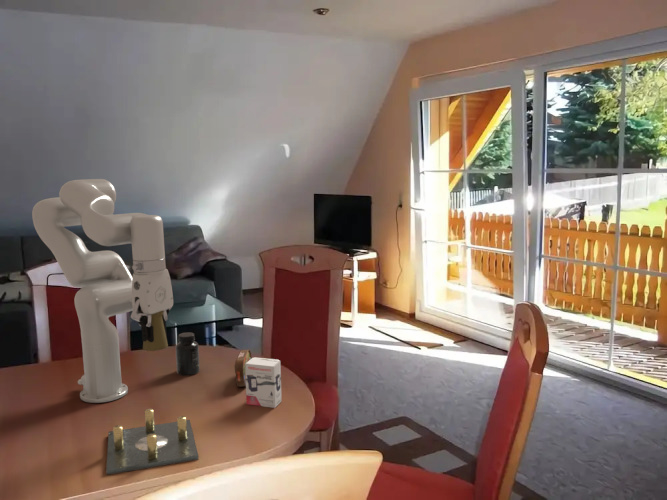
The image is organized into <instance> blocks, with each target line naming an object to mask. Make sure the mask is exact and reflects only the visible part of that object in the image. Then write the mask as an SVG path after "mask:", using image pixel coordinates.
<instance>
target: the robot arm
mask: <svg viewBox="0 0 667 500" xmlns="http://www.w3.org/2000/svg"><path fill="white" fill-rule="evenodd" d="M58 194H59V196H57V197H50V198H45V199H42V200H39V201H38V202H37V203H35V204H34V206H33V208H32V211H31V212H32V214H31V215H32V216H31V217H32V222H33V227H34V228H35V231H36V233H37V235H38V236H39V238H40V240H41V241H42V242H43V243H44V244H45V246H46V247H47V248H48V249H49V250H50V251H51V253H52V254H53V256H54V257H55V261H56V263H58V265H59V267H60V269H61V272H63V275H64V276H65V278H66V280H67V282H68V283H69V284H70V285H71V286H72V287H74V288H77V289H79V288H80V289H79V290H78V291H77V292H76V293H75V294H74V295H75V296H74V307H75V311H76V314H77V317H78V318H77V319H78V322H79V323H78V324H79V328H80V337H81V347H82V348H81V349H82V363H83V372H84V374H83V375H82V376H81V377H80V379H78V380H77V384H78V385H82V387H83V388H82V390H81V391H80V392H79V398H80V400H81V401H83V402H85V403H90V404H99V403H107V402H112V401H115V400H119V399H121V398H123V397H124V396H126V395H127V394H128V392H129V388H128V386H127V384H125V383H122V381H123V380H122V368H121V356H120V339H119V332H118V329H117V327H116V326H115V324H113V323H112V322H111V320H110V319H109V318H111V317H114V316H117V315H121V314H125V313H129V312H131V314H130V318H131V319H132V320H133V321H136V322H137V324H138V325H139V327H140V328H141V339H142V342H143V341H145V342H146V340H148V341H149V342H153V341H154V336H153V326H151V315H152V314H156V313H158V312H160V311H164V313H163V315H162V319H163V324H164V329H165V333H166V337H167V336H168V334H167V332H168V331H167V321H168V319H169V318H168V315H169V313H170V311H171V309H172V308H173V307H174V295H173V287H172V286H173V285H172V281H171V276H170V272H169V270H168V269H167V266H166V253H165V238H164V237H165V236H164V221H163V219H162V217H161V216H159V215H158V214H146V213H144V212H143V213H142V212H130V213H118V214H117V213H116V214H114V212H115V203H116V200H117V191H116V188H115V186H114V185H113V184H112V183H111V182H110V181H109V180H107V179H105V178H92V179H91V178H90V179H88V178H86V179H74V180H69V181H67V182H65V183H64V184H63V185H62V186H60V190H59V193H58ZM73 226H74V227H75V226H81V227H82V230H83V232H84V233H85V235H86V236H87V238H89V240H92V241H93V242H95V243H96V244H98V245H100V246H104V247H112V246H113V247H115V246H121V245H128V244H131V251H132V252H131V253H132V254H131V255H132V267H131V268H132V270H133V273H132V274H131V272H130V270H129V268H128V267H127V265H126V264H125V261H124V260H123V258H122V257H121V256H120V255H119V254H118V253H116V252H115V251H114V250H113V251H112V250H98V251H91V250H89V249H88V248H87V247H86V244H85V243H84V241H83V239H82V238H81V237H79V236H78V235H77V234H76V233H74V232H73V231H70V230H69V229H68V228H65V227H73ZM144 316H146V319H145V318H144Z"/></svg>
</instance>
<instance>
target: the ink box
mask: <svg viewBox="0 0 667 500" xmlns="http://www.w3.org/2000/svg"><path fill="white" fill-rule="evenodd" d="M281 364H282V363H281V360H279V359H277V358H276V359H275V358H264V357H256V356H255V357H252V359H250V360H249V361H248V362H247V363H246V386H245V391H246V392H245V395H246V399H245V400H246V405H249V406H256V407H257V406H258V407H263V408H264V407H265V408H273V409H276V408H277V406H278V405H279V404H280V403H282V372H281V371H282V370H281V369H282V368H281Z"/></svg>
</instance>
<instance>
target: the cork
mask: <svg viewBox="0 0 667 500" xmlns="http://www.w3.org/2000/svg"><path fill="white" fill-rule="evenodd" d="M163 313H164V311H160V312H158V313H156V314H152V315H151V326H153V336H154V341H153V342H149V341H148V340H146V342H145V341H142V342H143V343H142V350H144V351H147V352H154V351H156V352H157V351H161V350H164V349H167V348H168V347H169V344H168V338H167V336H166V333H165V329H164V324H163V319H162V315H163ZM144 318H145V319H146V316H144Z"/></svg>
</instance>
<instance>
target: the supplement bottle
mask: <svg viewBox="0 0 667 500" xmlns="http://www.w3.org/2000/svg"><path fill="white" fill-rule="evenodd" d="M177 337H178V343H177V344H176V345H175V361H176V363H175V364H176V373H177V374H178V375H180V376H183V377H184V376H193V375H196V374H199V372H200V351H199V350H200V349H199V343H198V342H197V341H195V340H196V337H195V333H193V332H189V331H188V332H182V333H179V334H178V336H177Z"/></svg>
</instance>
